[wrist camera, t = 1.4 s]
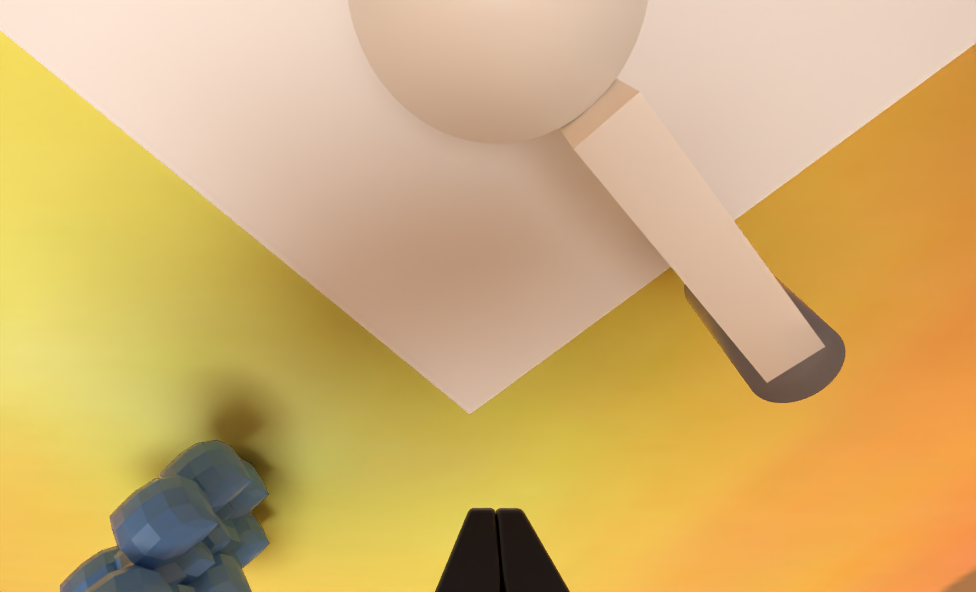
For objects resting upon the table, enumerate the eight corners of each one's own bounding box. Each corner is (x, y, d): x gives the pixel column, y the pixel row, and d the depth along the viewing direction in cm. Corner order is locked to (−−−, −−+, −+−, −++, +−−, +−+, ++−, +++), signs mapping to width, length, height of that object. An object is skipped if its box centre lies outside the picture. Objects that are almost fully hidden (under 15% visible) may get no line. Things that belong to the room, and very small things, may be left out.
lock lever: (316, -20, 13) (253, -26, 9) (503, -242, 11) (523, -364, 8) (664, 357, 19) (716, 453, 15) (825, 248, 17) (931, 324, 13)
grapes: (122, 356, 22) (-183, 679, 12) (293, 372, 23) (149, 691, 13) (160, 545, 28) (-24, 880, 17) (298, 554, 29) (200, 882, 18)
